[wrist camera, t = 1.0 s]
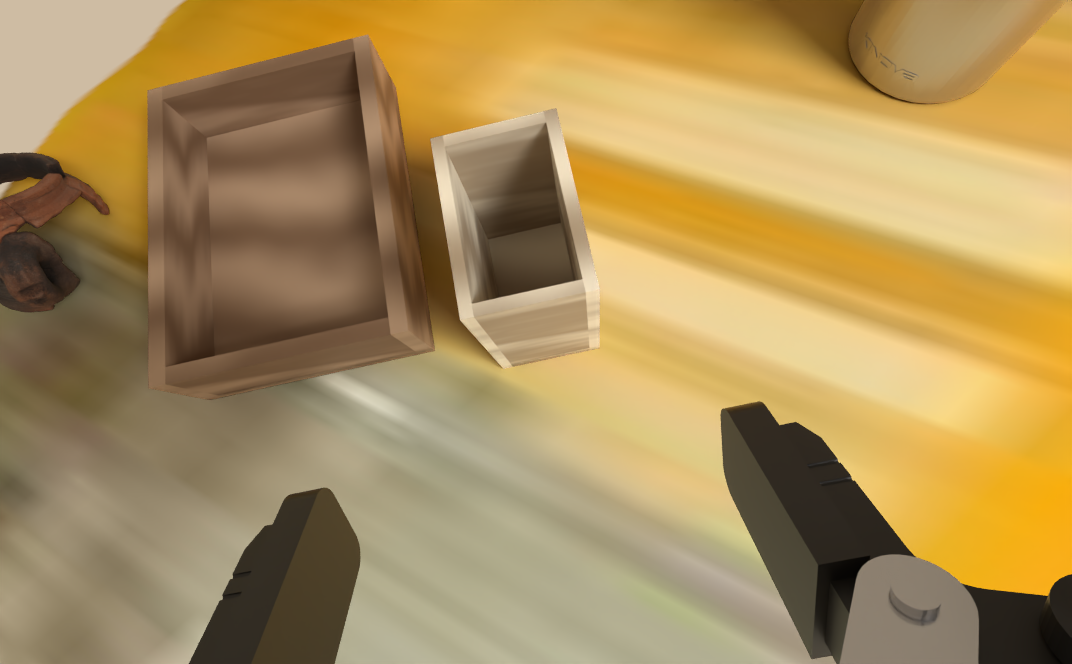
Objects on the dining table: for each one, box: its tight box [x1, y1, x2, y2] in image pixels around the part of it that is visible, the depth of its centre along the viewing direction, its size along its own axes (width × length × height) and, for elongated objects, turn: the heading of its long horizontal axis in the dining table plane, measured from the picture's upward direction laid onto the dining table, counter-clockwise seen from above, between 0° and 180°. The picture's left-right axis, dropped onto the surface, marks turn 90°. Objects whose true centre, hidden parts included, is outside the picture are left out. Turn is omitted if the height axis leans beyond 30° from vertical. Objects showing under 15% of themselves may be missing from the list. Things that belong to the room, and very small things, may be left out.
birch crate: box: [430, 108, 600, 369], centre depth 29 cm, size 9×6×11 cm, turn 11°
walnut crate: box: [148, 35, 435, 400], centre depth 35 cm, size 20×15×5 cm
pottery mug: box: [0, 153, 109, 312], centre depth 37 cm, size 12×10×8 cm
